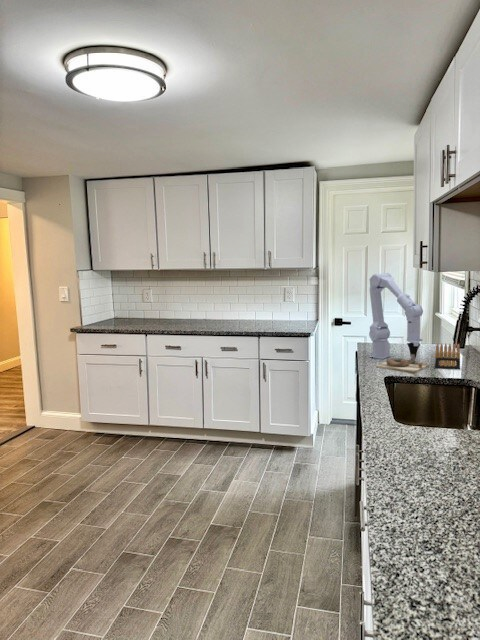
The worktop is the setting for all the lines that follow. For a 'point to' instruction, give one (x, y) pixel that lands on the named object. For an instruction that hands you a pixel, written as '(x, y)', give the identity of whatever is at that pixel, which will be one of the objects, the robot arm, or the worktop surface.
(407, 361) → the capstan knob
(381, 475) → the worktop surface
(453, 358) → the ammunition clip
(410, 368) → the board
